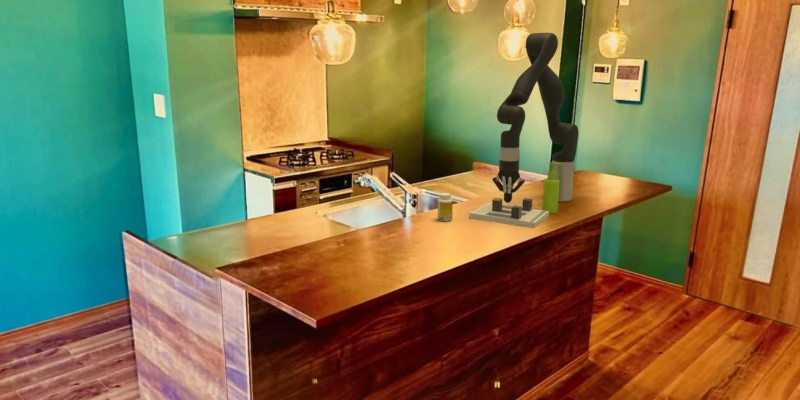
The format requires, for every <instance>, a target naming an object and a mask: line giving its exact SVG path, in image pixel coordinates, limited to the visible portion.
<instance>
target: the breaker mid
mask: <svg viewBox="0 0 800 400" xmlns="http://www.w3.org/2000/svg"><path fill="white" fill-rule="evenodd" d="M502 205H503V198H502V197H494V198H492V210H495V211H500V210H502Z"/></svg>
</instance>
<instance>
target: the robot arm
mask: <svg viewBox="0 0 800 400" xmlns="http://www.w3.org/2000/svg"><path fill="white" fill-rule="evenodd" d="M558 47H559V40H558V36H557V35H556V34H555V33H554V32H532V33H530V34H528V35H527V37H526V39H525V50H526V54H527V57H528V60H529V62H530V66H529V67H528V68H526V69H525V70H524V72H522V73H521V74H520V75H519V76H518V78H517V80H516V81H515V83H514V85H513V87H512V89H511V91H510V94H509V95H508V96H507V97H506V98H505V99H504V101H503V102H502V103H501V105H500V106H499V107H498V109H497V111H496V118H497V119H496V120H497V121H498V122H499V123H500V124H502V125H510V128H509V130H504V131H502V132H501V134H500V149H499V156H498V159H499V160H498V161H499V162H498V173H497V175H496V176H494V177H493V178H492V182H493V183H494V184H495V186H496V187H497V189H498V190H499V192H502V193H503V201H504V202H505V203H507V204H510V202H512V200H513V193H516V192H517V191H518V190H519V189H520V188H521V187H522V186H523V185H524V184H525V182H526V180H525V179H522V177H521V175H520V173H519V171H520V155H521V153H520V151H521V150H520V141H521V140H520V136H521V133H522V130H523V127H524V123H525V120H526V112H525V109H524V108H523V107H522V106H523V105H525V104H527V103H528V101H529V99H530V98H531V97H530V96H531V95H532V93H533V90H534V88H535V86H536V84H537V86H538V91H539V94H540V99H541V102H542V104H543V107H544V112H545V115H546V122H547V128H548V135H549V139H550V141H551V142H552V143H553V144H555V145H562V146H563V149H562V150H561V151H558V152H557V151H556V152H554V153H553V154H552V157H551V159H552V160H551V161H552V162H551V163H561V164H563V166H561V165H555V171H557V176H556V179H558V180H559V194H558V202H570V201H572V196H573V184H574V172H575V158H576V155H577V149H578V141H579V127H578V125H577V124H574V123H568V122H567V123H566V122H562V121H561V118H560V114H559V113H560V111H561V108H562V107H563V104H564V101H565V97H566V94H565V88H564V86H563V82H562V80H561V78H560V76H558V74H557V73H556V72H555V71H554V70H553V69H552V68H551V67H550V66H549V64H550V62H551V60H552V59H553V57H554V56H555V54H556V52H557V51H558ZM516 183H517V184H516ZM515 184H516V185H515ZM514 186H515V187H514Z"/></svg>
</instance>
